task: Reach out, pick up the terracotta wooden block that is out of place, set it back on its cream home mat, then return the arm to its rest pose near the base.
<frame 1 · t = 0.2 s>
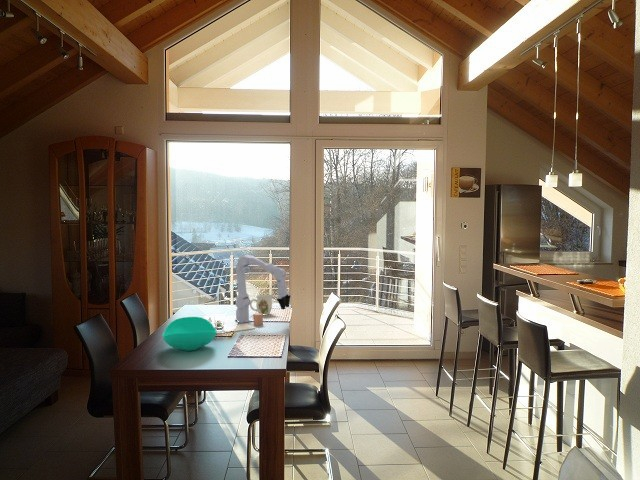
hand: (285, 308, 316), 11 cm above the table, tool pointing down, fingers open, 7 cm apart
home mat: (237, 328, 307), on the table
table top decor: (190, 349, 263), on the table
block: (258, 324, 317), on the table
pitcher: (263, 314, 349), on the table
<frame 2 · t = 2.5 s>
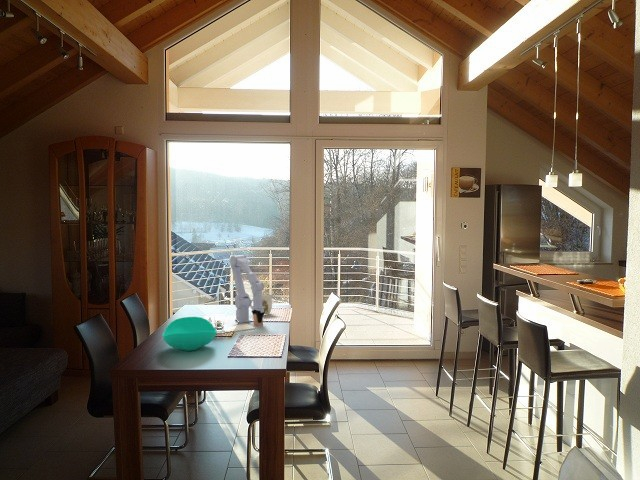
hand: (258, 321, 317), 2 cm above the table, tool pointing down, fingers closed on block, 4 cm apart
block: (258, 324, 317), on the table, touching gripper
everything else where it was.
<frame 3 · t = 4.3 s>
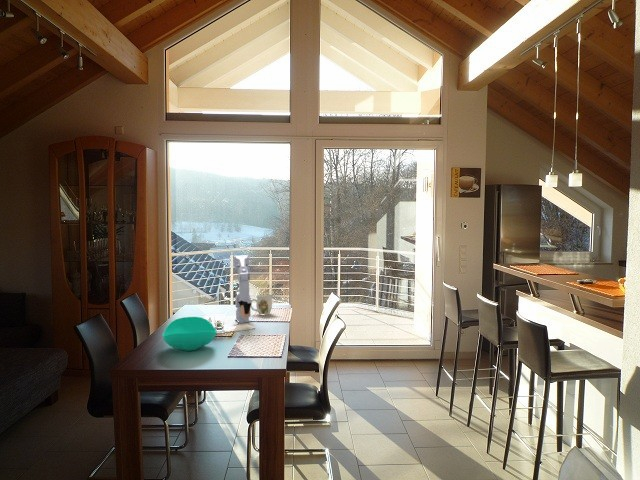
hand: (245, 313, 310), 9 cm above the table, tool pointing down, fingers closed on block, 4 cm apart
block: (245, 316, 311), point 7 cm above the table, touching gripper
everything else where it was.
when the fingers open (4 cm above the table, at t = 6.1 s): block drops 1 cm, resting on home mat.
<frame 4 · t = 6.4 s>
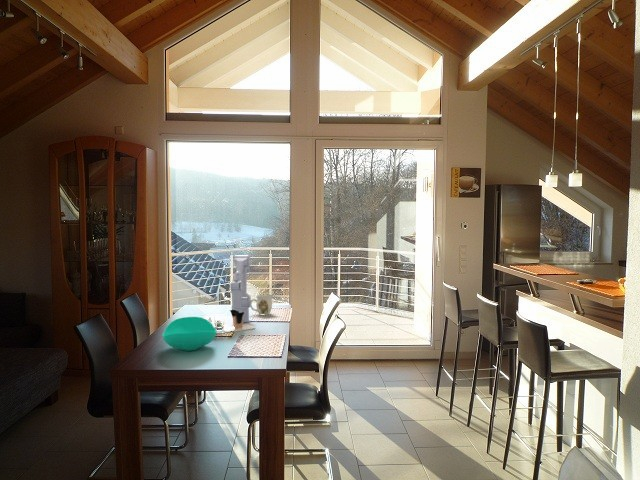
hand: (237, 322, 307), 4 cm above the table, tool pointing down, fingers open, 7 cm apart
block: (237, 327, 307), point 1 cm above the table, touching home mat
everything else where it was.
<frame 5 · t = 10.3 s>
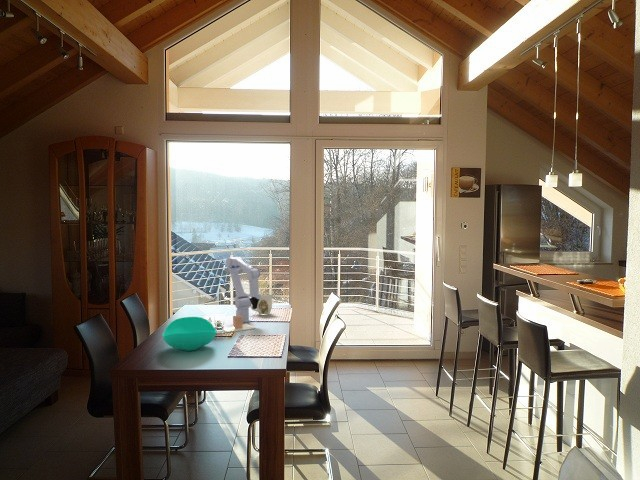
hand: (254, 309, 316), 10 cm above the table, tool pointing down, fingers closed
nothing on the table moved.
at the end: block inside the target area on the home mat (0.4 cm from its centre), point 0.6 cm above the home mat's base; block tilted 0°; the gripper is holding nothing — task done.
